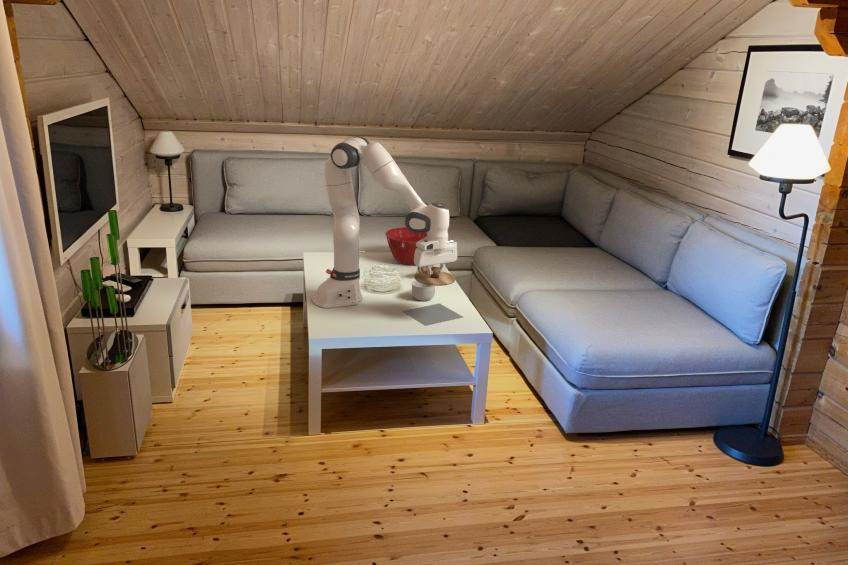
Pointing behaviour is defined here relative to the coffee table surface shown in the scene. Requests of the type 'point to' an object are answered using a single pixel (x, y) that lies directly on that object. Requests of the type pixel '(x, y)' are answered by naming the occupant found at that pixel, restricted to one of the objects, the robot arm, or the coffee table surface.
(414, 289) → the teacup
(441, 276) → the lid
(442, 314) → the mat
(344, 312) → the coffee table surface
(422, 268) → the lion figurine
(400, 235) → the mixing bowl
